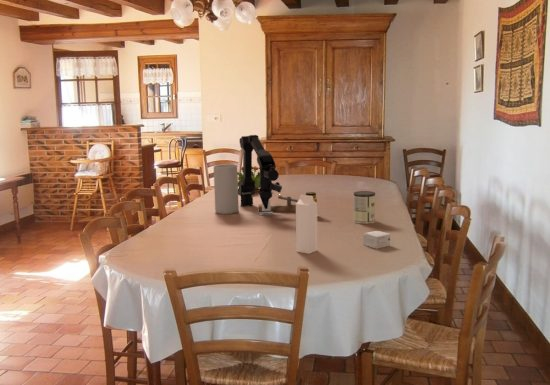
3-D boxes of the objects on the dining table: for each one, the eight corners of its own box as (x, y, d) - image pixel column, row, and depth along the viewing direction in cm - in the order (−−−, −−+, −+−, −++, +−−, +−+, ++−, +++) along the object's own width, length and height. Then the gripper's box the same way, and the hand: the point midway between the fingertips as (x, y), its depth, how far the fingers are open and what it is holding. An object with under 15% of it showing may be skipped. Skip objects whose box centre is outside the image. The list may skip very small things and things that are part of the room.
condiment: (320, 216, 273) (320, 192, 271) (307, 218, 268) (306, 194, 266) (311, 213, 279) (311, 191, 277) (298, 215, 274) (298, 192, 272)
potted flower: (278, 190, 358) (277, 164, 355) (258, 195, 338) (257, 168, 335) (247, 187, 371) (247, 162, 368) (226, 192, 351) (226, 166, 348)
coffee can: (355, 218, 265) (355, 190, 262) (376, 219, 261) (376, 191, 259) (351, 223, 255) (351, 194, 253) (373, 224, 252) (373, 194, 249)
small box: (376, 249, 209) (376, 236, 208) (362, 245, 216) (362, 232, 215) (390, 246, 214) (390, 233, 213) (376, 242, 220) (376, 230, 219)
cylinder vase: (242, 210, 290) (241, 164, 286) (231, 215, 279) (229, 167, 275) (222, 209, 295) (221, 164, 291) (210, 213, 284) (209, 166, 280)
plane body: (258, 212, 286) (258, 199, 284) (258, 209, 291) (258, 197, 290) (296, 211, 286) (295, 198, 285) (295, 209, 292) (295, 196, 291)
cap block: (261, 210, 277) (261, 201, 276) (261, 209, 282) (261, 199, 281) (270, 210, 277) (270, 201, 276) (270, 209, 282) (270, 199, 281)
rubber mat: (259, 215, 276) (259, 214, 276) (259, 212, 283) (259, 212, 283) (273, 215, 276) (273, 214, 276) (272, 212, 283) (272, 211, 283)
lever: (278, 198, 286) (278, 194, 286) (277, 197, 289) (278, 193, 288) (299, 202, 287) (300, 198, 287) (299, 201, 290) (300, 197, 289)
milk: (304, 248, 212) (304, 193, 209) (317, 250, 209) (317, 194, 205) (296, 251, 207) (295, 195, 204) (309, 254, 204) (308, 197, 200)
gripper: (281, 180, 268) (282, 211, 270) (280, 175, 286) (280, 204, 289) (259, 181, 267) (260, 211, 270) (259, 176, 286) (260, 204, 288)
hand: (266, 208), depth 279 cm, fingers closed on cap block, 4 cm apart
